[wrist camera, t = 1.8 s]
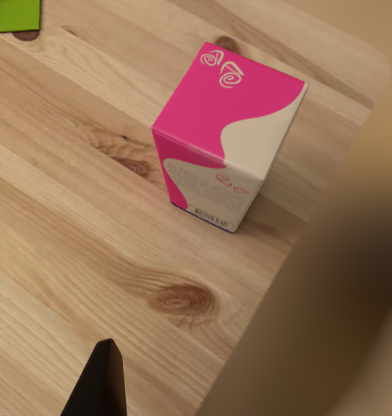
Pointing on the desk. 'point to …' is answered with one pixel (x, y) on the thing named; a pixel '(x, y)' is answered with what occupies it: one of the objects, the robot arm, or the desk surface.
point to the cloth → (19, 15)
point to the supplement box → (224, 133)
